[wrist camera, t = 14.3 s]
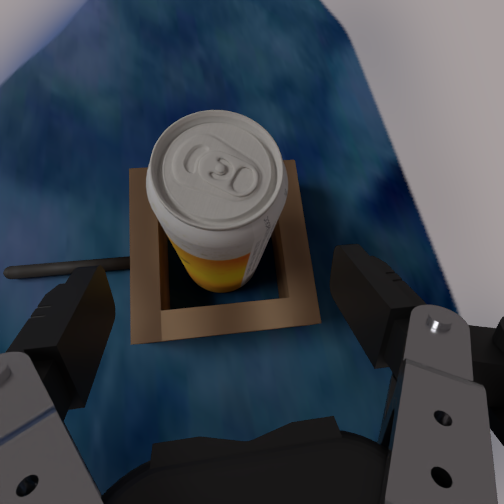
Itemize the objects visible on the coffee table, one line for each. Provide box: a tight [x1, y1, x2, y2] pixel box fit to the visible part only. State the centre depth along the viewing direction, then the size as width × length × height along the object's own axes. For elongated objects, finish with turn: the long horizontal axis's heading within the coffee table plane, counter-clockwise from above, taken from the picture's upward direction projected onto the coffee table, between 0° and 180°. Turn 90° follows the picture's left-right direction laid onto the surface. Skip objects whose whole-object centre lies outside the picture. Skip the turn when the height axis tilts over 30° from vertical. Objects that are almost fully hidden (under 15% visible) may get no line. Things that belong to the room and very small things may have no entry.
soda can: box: [146, 110, 288, 293], centre depth 20 cm, size 6×6×15 cm
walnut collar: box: [3, 160, 321, 344], centre depth 24 cm, size 24×13×4 cm, turn 96°
